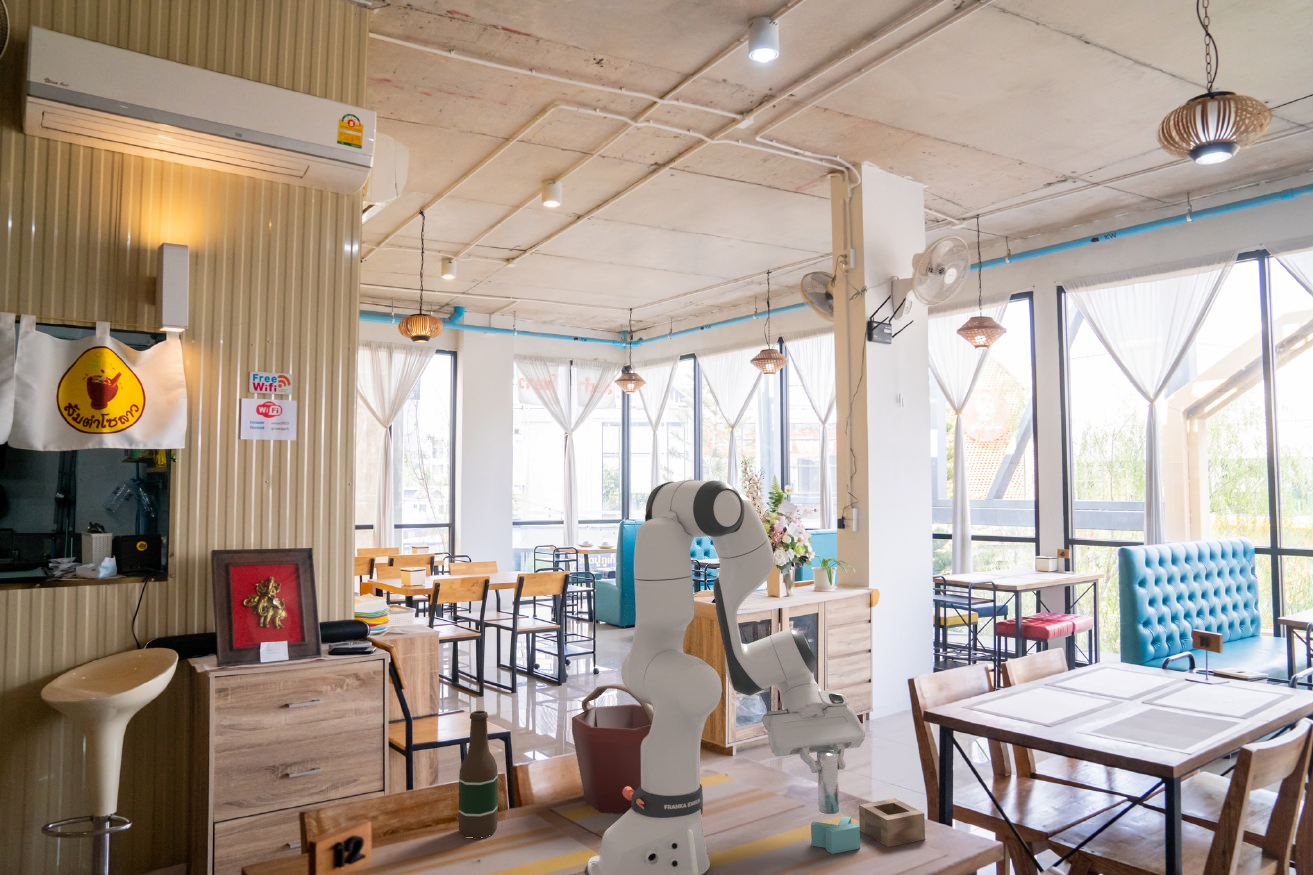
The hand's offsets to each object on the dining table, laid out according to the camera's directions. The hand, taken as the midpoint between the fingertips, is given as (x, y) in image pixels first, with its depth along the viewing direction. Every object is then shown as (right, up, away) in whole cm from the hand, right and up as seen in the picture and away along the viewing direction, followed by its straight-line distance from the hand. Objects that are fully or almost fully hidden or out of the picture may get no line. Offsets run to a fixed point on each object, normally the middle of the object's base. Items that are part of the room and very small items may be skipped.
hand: (829, 769), depth 166 cm
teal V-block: (+1, -13, -3) cm, 14 cm away
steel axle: (0, -8, 0) cm, 8 cm away
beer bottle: (-71, -15, +5) cm, 72 cm away
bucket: (-41, -16, +23) cm, 50 cm away
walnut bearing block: (+13, -14, +2) cm, 19 cm away
